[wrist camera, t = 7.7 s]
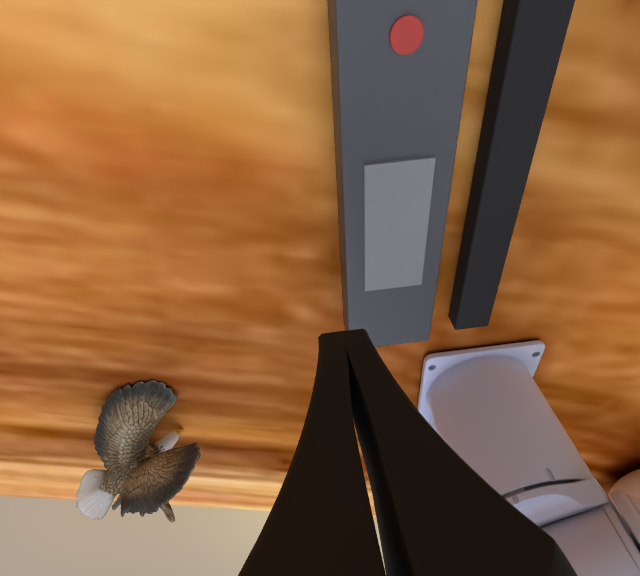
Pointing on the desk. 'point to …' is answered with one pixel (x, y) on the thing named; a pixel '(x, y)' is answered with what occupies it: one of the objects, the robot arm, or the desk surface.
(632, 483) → the piggy bank
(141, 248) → the desk surface
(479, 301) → the strip
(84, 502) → the eagle figurine
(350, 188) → the remote
